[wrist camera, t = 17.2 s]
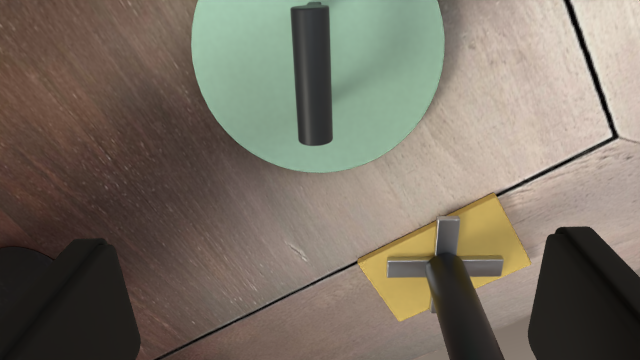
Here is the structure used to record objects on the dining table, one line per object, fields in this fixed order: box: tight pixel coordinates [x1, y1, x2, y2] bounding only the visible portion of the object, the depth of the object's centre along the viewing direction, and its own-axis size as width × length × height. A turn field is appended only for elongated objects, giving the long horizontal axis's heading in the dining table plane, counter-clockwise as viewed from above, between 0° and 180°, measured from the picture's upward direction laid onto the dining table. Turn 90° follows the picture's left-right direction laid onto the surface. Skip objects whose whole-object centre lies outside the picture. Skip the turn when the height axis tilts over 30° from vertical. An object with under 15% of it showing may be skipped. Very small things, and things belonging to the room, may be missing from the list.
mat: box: [358, 193, 531, 322], centre depth 31 cm, size 10×6×1 cm, turn 122°
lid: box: [191, 0, 445, 173], centre depth 23 cm, size 14×14×6 cm
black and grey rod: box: [386, 216, 505, 360], centre depth 25 cm, size 8×8×12 cm
